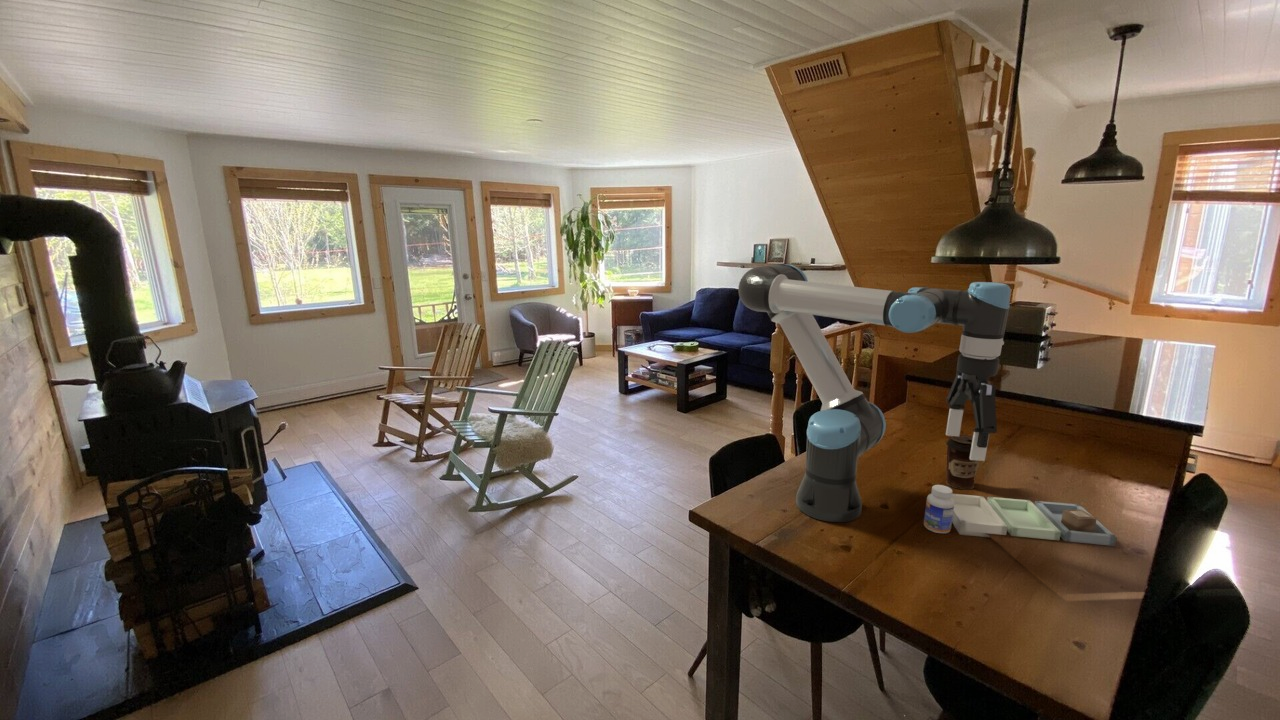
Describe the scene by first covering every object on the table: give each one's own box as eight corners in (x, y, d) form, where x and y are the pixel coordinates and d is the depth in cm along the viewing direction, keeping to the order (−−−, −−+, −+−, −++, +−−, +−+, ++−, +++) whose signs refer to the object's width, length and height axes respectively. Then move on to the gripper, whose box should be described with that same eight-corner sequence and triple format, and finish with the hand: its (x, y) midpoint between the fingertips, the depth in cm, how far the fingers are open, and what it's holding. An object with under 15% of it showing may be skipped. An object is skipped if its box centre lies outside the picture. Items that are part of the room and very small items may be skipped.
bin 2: (1064, 545, 113) (1066, 532, 112) (1033, 512, 126) (1035, 500, 125) (1113, 550, 111) (1116, 537, 110) (1077, 516, 124) (1079, 504, 123)
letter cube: (1075, 536, 114) (1078, 518, 113) (1060, 526, 118) (1063, 509, 117) (1093, 535, 114) (1096, 518, 113) (1077, 525, 118) (1081, 509, 117)
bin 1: (959, 534, 117) (961, 522, 117) (940, 503, 131) (941, 492, 130) (1005, 539, 115) (1007, 526, 115) (981, 507, 129) (982, 496, 128)
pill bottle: (918, 524, 122) (922, 485, 120) (936, 519, 124) (941, 481, 121) (937, 536, 117) (942, 496, 115) (956, 531, 119) (961, 492, 116)
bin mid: (1010, 539, 115) (1012, 527, 114) (985, 508, 128) (987, 496, 128) (1058, 544, 113) (1060, 531, 112) (1028, 511, 126) (1030, 500, 126)
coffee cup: (984, 494, 135) (991, 446, 132) (948, 491, 137) (954, 444, 134) (970, 478, 143) (976, 433, 140) (937, 476, 145) (942, 432, 142)
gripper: (1028, 371, 101) (1009, 473, 106) (973, 343, 125) (960, 427, 130) (985, 369, 102) (968, 470, 108) (939, 342, 126) (927, 425, 132)
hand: (963, 447), depth 119 cm, fingers open, 13 cm apart
